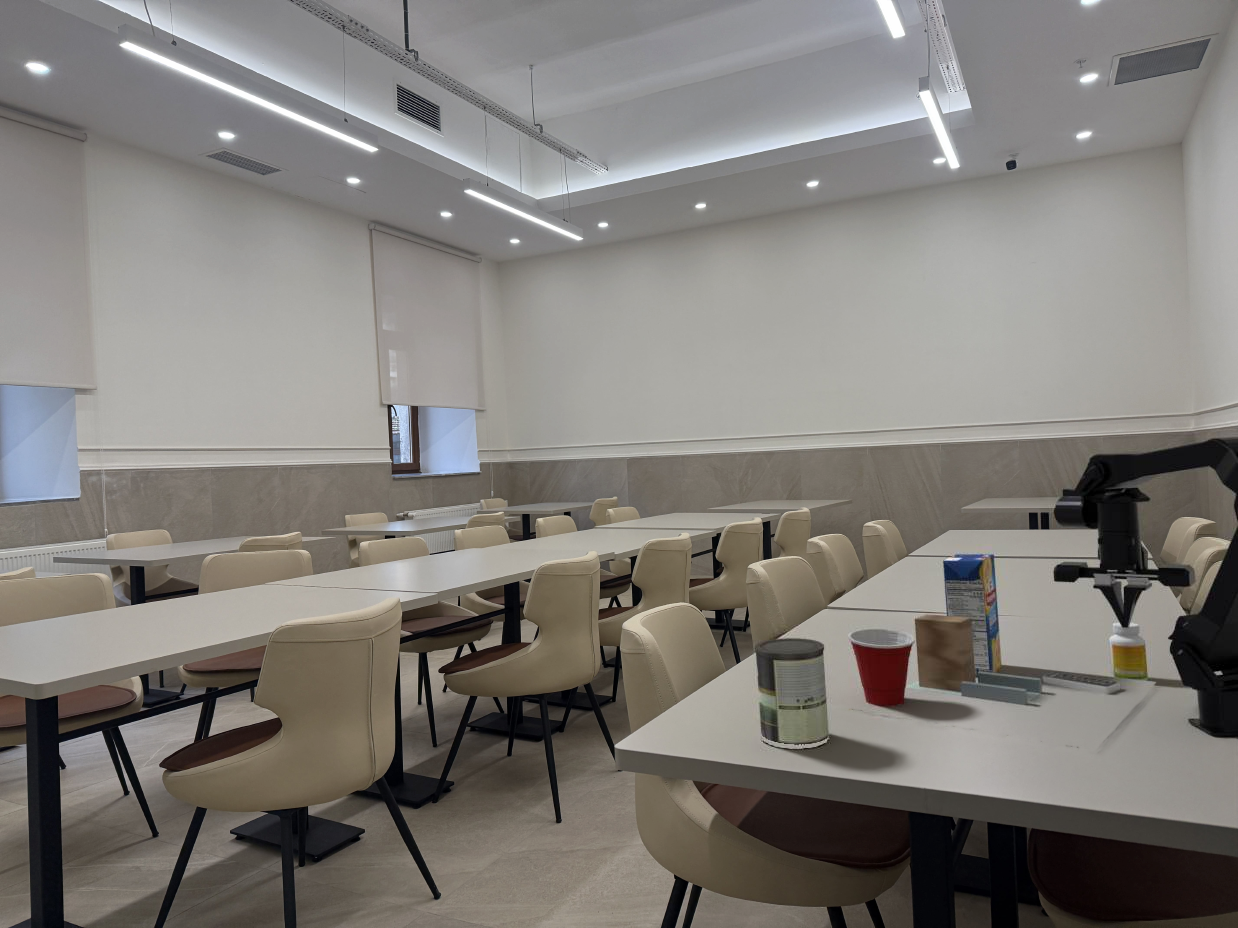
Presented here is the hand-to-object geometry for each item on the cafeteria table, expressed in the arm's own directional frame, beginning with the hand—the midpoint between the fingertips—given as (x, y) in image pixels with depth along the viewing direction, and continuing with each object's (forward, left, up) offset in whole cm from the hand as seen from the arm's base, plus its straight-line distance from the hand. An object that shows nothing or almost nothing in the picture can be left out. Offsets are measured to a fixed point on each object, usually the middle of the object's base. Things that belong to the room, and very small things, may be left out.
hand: (1125, 627), depth 128 cm
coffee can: (-16, +54, -12) cm, 58 cm away
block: (+8, +26, -11) cm, 30 cm away
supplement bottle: (+14, -6, -12) cm, 20 cm away
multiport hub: (+7, +5, -13) cm, 15 cm away
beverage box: (+20, +18, -12) cm, 30 cm away
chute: (+6, +23, -12) cm, 26 cm away
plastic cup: (0, +38, -12) cm, 40 cm away
